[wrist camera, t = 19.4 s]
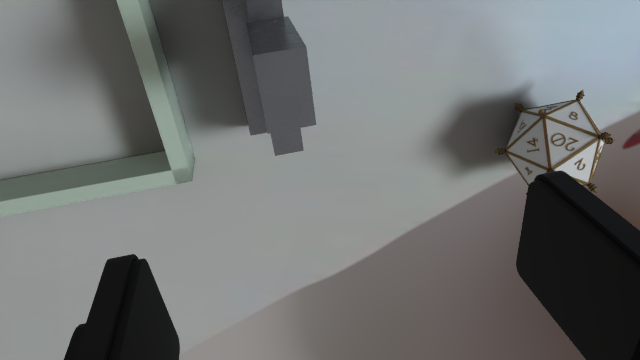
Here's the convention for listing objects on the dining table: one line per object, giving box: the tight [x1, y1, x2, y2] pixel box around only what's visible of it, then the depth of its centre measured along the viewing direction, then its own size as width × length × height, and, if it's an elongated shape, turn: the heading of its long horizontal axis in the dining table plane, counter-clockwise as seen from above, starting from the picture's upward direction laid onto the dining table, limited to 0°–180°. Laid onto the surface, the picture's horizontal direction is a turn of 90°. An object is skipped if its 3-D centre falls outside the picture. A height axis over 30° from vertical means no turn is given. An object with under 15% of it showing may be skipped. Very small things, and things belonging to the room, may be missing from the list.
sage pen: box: [0, 0, 195, 217], centre depth 30 cm, size 16×21×4 cm
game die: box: [495, 90, 615, 194], centre depth 38 cm, size 9×8×10 cm
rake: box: [222, 0, 316, 156], centre depth 28 cm, size 4×14×13 cm, turn 7°
